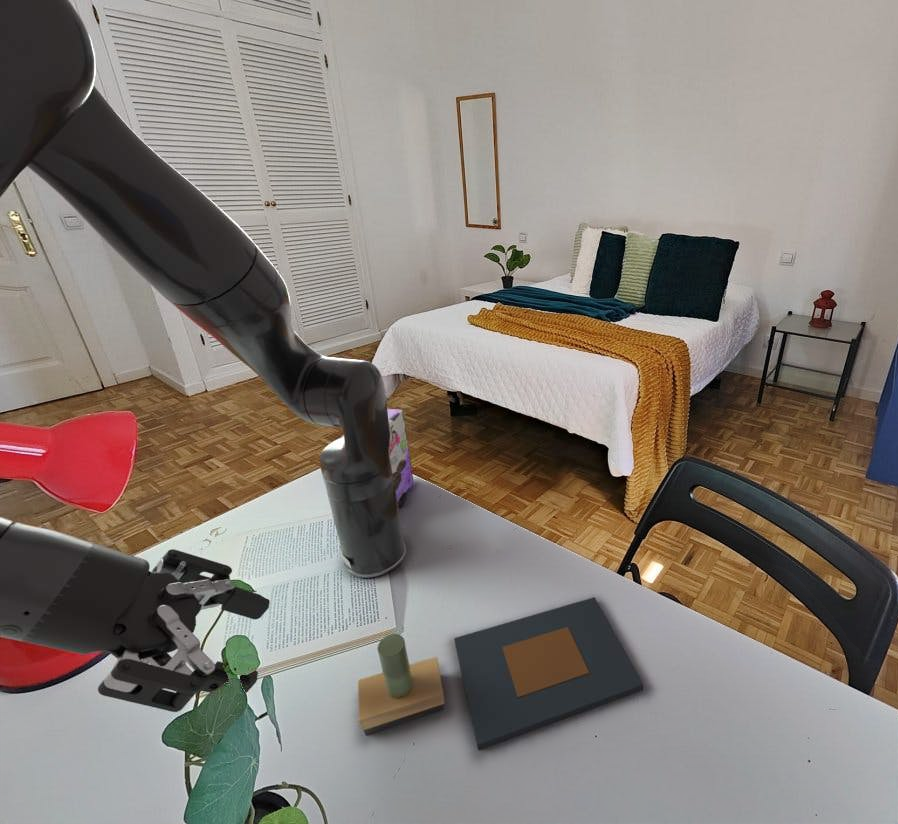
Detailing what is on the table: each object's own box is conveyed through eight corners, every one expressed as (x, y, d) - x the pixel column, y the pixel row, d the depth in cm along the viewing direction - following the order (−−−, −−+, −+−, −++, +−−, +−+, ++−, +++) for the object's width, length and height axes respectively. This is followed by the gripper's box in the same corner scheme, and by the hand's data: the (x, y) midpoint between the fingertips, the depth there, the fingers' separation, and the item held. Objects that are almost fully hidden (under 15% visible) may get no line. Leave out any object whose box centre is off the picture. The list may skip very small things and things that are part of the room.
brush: (362, 696, 58) (346, 638, 53) (439, 672, 61) (430, 615, 56) (363, 737, 54) (346, 678, 49) (446, 710, 57) (437, 651, 52)
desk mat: (454, 643, 64) (454, 637, 64) (594, 601, 70) (594, 596, 70) (477, 750, 53) (477, 744, 52) (643, 689, 59) (644, 683, 58)
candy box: (379, 529, 84) (363, 447, 77) (348, 525, 85) (329, 443, 78) (415, 483, 96) (404, 408, 89) (387, 480, 97) (374, 405, 90)
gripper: (33, 625, 32) (275, 682, 41) (116, 500, 44) (289, 564, 52) (-32, 706, 32) (220, 744, 41) (67, 560, 44) (246, 614, 53)
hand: (259, 644), depth 47 cm, fingers open, 8 cm apart
